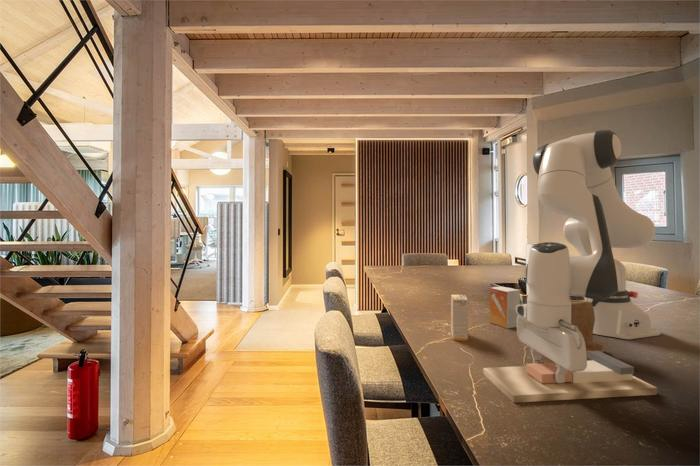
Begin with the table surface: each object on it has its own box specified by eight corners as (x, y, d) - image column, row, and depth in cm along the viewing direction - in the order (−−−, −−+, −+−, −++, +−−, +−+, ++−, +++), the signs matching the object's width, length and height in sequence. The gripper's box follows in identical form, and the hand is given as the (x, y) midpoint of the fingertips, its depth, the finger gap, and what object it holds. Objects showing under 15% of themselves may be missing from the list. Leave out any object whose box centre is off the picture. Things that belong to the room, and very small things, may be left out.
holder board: (605, 367, 91) (605, 362, 91) (656, 394, 77) (656, 387, 77) (483, 374, 89) (483, 368, 89) (513, 402, 75) (513, 395, 75)
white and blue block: (604, 365, 89) (604, 350, 89) (640, 383, 79) (640, 366, 79) (550, 368, 88) (550, 352, 88) (579, 387, 78) (579, 369, 78)
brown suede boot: (560, 342, 111) (560, 293, 110) (607, 351, 103) (608, 298, 102) (546, 356, 100) (546, 302, 99) (598, 367, 92) (599, 309, 91)
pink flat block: (554, 370, 86) (554, 362, 86) (571, 381, 80) (571, 372, 80) (526, 371, 85) (526, 363, 85) (541, 383, 79) (541, 374, 79)
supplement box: (468, 341, 113) (468, 299, 112) (452, 340, 114) (452, 299, 113) (465, 333, 121) (465, 294, 120) (450, 332, 122) (450, 293, 121)
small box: (489, 322, 132) (489, 287, 132) (502, 320, 135) (502, 286, 134) (506, 328, 125) (506, 291, 124) (520, 326, 127) (520, 289, 127)
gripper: (596, 327, 72) (595, 395, 73) (535, 303, 92) (535, 357, 93) (566, 328, 72) (565, 397, 72) (511, 304, 92) (511, 358, 92)
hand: (548, 374), depth 83 cm, fingers closed on pink flat block, 6 cm apart
